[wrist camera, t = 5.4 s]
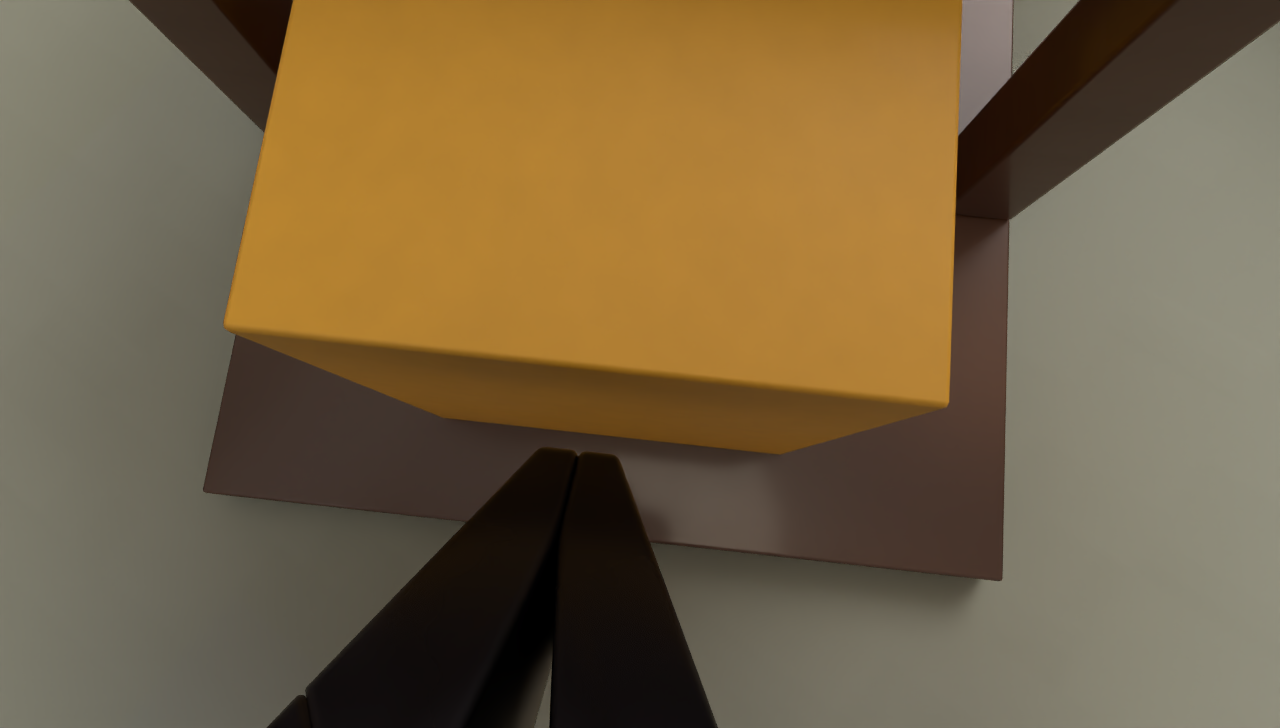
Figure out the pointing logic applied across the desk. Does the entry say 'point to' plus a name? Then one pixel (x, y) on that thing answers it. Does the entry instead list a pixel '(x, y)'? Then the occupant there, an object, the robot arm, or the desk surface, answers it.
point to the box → (615, 212)
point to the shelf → (725, 478)
